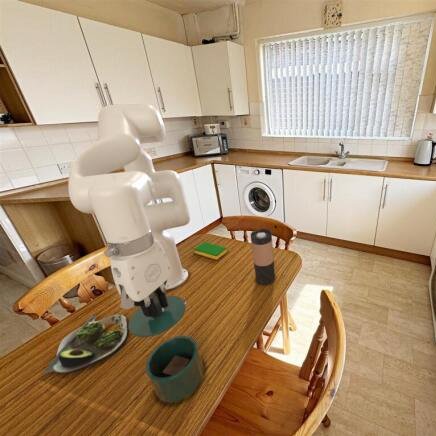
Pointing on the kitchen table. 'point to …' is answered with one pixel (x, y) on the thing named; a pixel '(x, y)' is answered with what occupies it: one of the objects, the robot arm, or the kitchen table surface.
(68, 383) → the kitchen table surface
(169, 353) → the pot
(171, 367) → the block
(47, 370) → the salad plate
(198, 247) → the dish sponge
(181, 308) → the lid
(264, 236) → the travel mug
